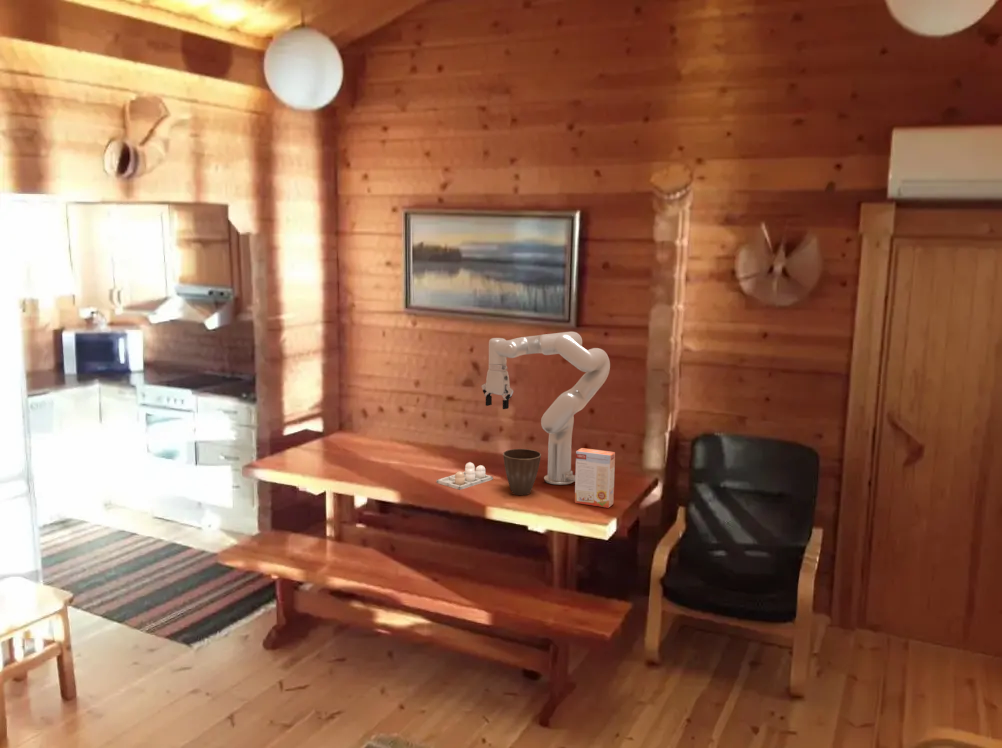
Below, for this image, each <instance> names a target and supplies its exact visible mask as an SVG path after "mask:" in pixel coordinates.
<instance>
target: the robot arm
mask: <svg viewBox="0 0 1002 748" xmlns="http://www.w3.org/2000/svg"><path fill="white" fill-rule="evenodd" d="M532 354H542V355H544V356H550V355H560V356H561V357H562V358H563V359H564V360H566V361H567V362H568V363H570V364H571V365H572V366H574V367H575V368H576V369H577V370H579V371H581V372H582V373H584V374H583V375H582V376H581V377H580V378H579V379H578V381H577V382H576V384H574V385H573V386H572V387H571V388H570V389H568V390H565V391H564V392H562V393H560V395H558V396H557V397H556V399H555V400H554V401H553V402H552V403H551V404H550V406H549V407H548V408H547V409H546V410H545V412H544V413H543V415H542V417H541V418H540V419H541V420H540V424H541V428H542V429H543V431H545V432H546V433H547V434H548V444H547V445H548V446H547V447H548V450H547V474H546V475H544V477H543V479H544V482H545V483H547V484H551V485H556V486H557V485H560V486H562V485H570V484H572V483H574V482H575V474H574V471H573V470H572V439H573V438H572V437H573V428H574V423H575V418H574V415H576V414H577V413H578V412H580V411H582V410H583V409H585V407H587V406H586V405H587V404H588V403H589V402H590V400H591V399H593V397H594V396H595V395H596V393H597V392H598V391H599V390H600V389H601V388H602V387H603V384H605V382H606V381H607V378H608V376H609V374H610V370H611V369H610V368H611V362H610V358H609V356H608V353H607V352H606V351H605V350H604V349H602V348H598V347H592V348H590V349H586V348H585V347H583V339H582V336H581V335H580V334H579V333H578V332H576V331H563V332H557V333H556V332H555V333H547V334H546V333H545V334H539V335H529V336H521V337H516V338H512V339H508V340H506V338H502V337H492V338H490V339H489V340H488V370H487V372H486V379H485V380H486V381H485V383H484V384H481V389H482V393H483V394H484V397H485V406H486V407H487V406H492V405H493V404H492V403H493V400H492V399H493V396H492V395H498V396H501V397H502V398H503V399H502V410H506V409H507V410H508V409H509V406H510V405H509V404H510V399H511V398H512V397H513V394H514V389H513V388H511V386H510V385H511V384H510V376H509V372H508V371H509V370H508V368H509V367H508V366H507V362H508V361H507V358H508V359H514V358H518V357H520V356H524V355H532Z"/></svg>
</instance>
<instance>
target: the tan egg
mask: <svg viewBox="0 0 1002 748" xmlns="http://www.w3.org/2000/svg"><path fill="white" fill-rule="evenodd" d="M463 472H464V471H457V472H456V473H455V474H454V475H455V484H456V485H459V486H461V485H464V484H465V475H464V473H463Z"/></svg>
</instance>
